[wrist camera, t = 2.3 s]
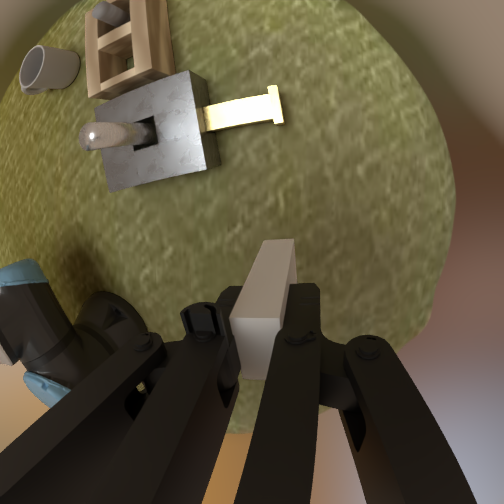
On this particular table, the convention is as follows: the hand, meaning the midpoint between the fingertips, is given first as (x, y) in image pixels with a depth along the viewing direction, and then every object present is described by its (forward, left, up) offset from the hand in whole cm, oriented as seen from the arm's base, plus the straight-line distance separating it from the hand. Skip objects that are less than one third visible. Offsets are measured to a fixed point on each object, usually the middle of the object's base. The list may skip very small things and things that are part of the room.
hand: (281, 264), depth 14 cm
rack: (-18, +26, -23) cm, 38 cm away
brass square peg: (-5, +11, -22) cm, 25 cm away
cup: (-35, +29, -23) cm, 50 cm away
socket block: (-16, +11, -23) cm, 30 cm away
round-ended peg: (-16, +11, -23) cm, 30 cm away
